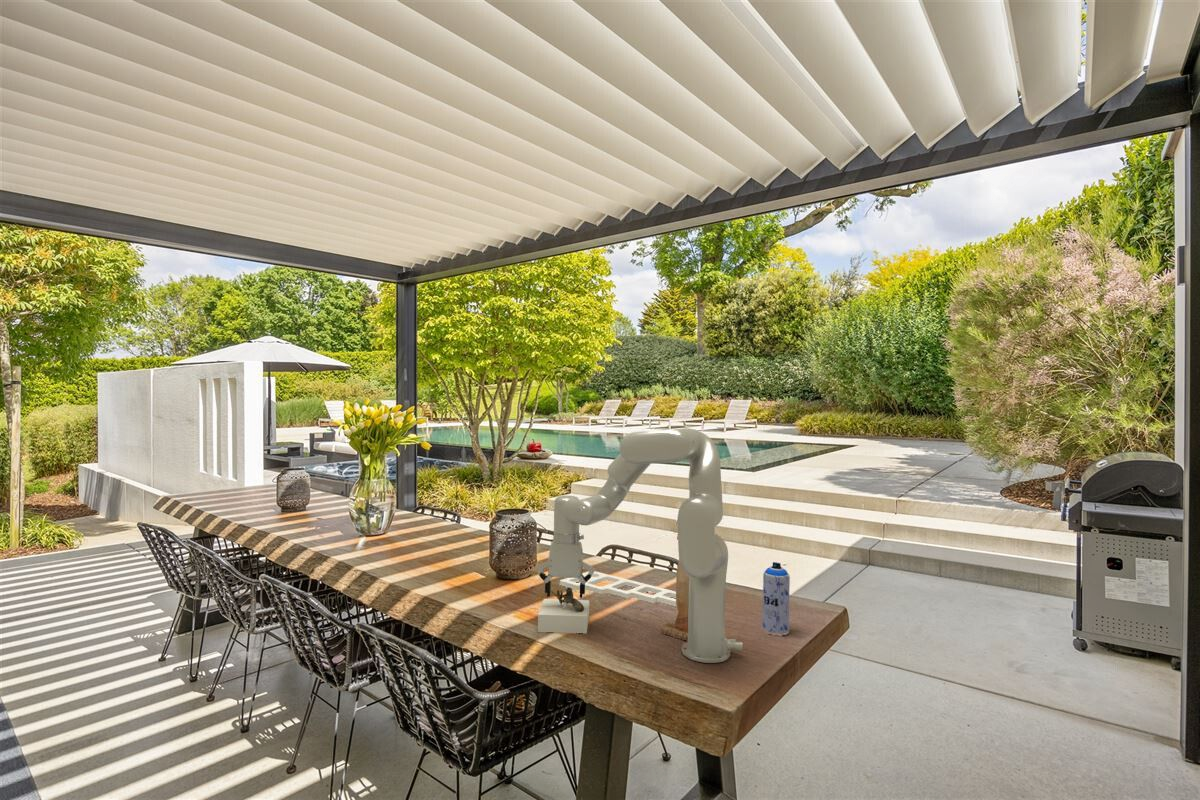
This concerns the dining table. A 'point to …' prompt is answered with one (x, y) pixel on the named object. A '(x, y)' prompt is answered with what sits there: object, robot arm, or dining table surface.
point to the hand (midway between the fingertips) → (564, 595)
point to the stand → (562, 617)
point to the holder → (597, 577)
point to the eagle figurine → (569, 600)
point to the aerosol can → (776, 599)
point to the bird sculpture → (680, 607)
